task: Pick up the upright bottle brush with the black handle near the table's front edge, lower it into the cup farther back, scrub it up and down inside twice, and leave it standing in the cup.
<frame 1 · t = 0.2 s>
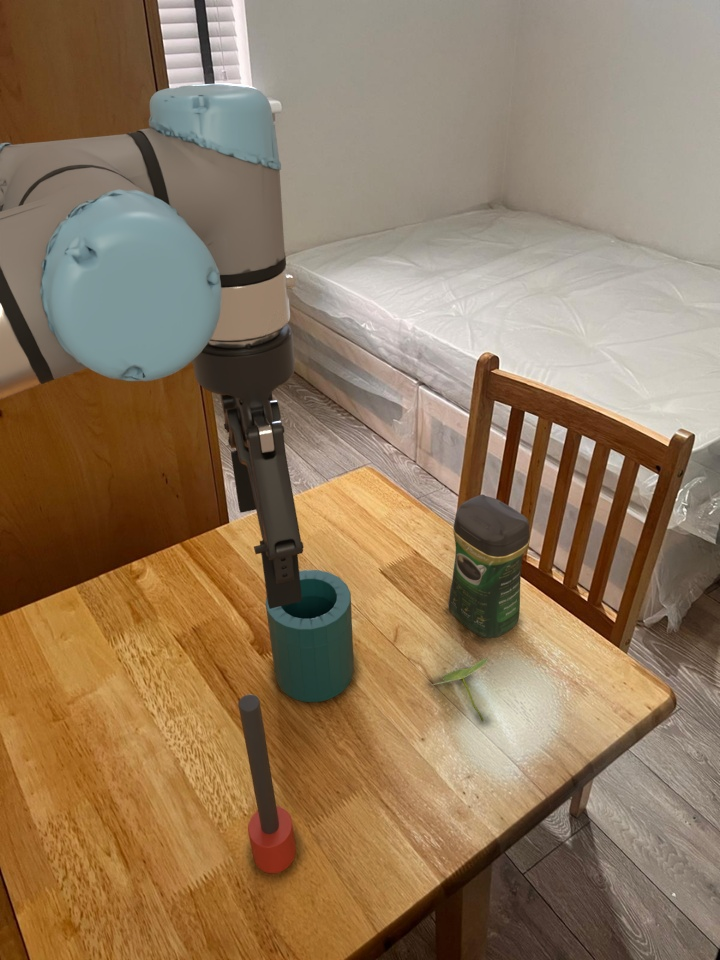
hand: (267, 551, 65), 33 cm above the table, tool pointing down, fingers open, 13 cm apart
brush: (274, 852, 76), on the table
cup: (314, 670, 95), on the table
seedling: (458, 698, 91), on the table
coffee jar: (482, 616, 103), on the table
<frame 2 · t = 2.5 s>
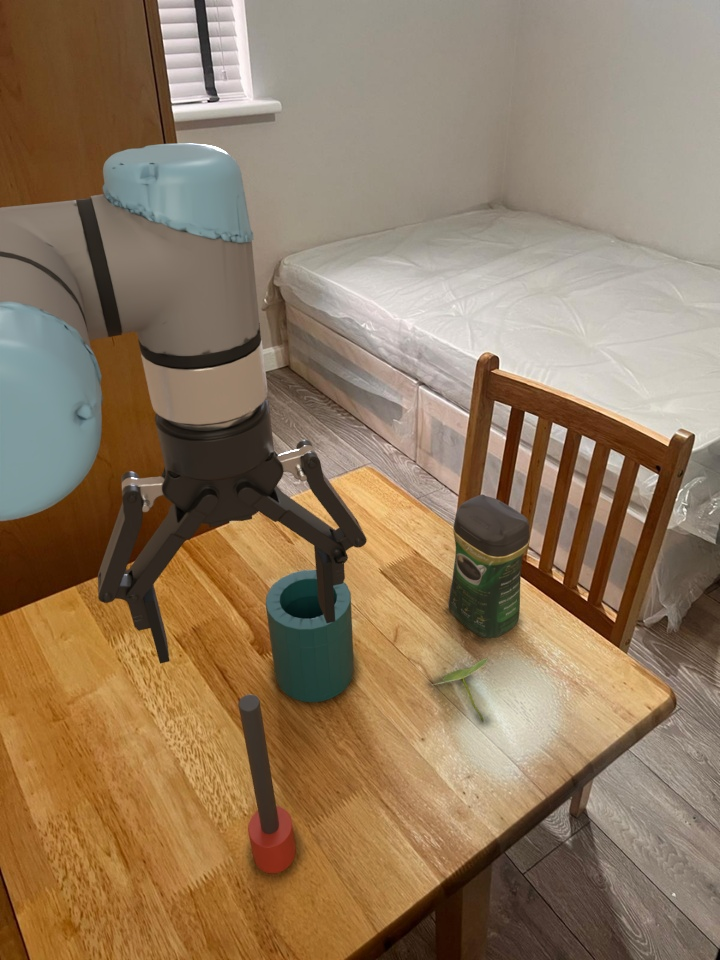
hand: (247, 630, 60), 30 cm above the table, tool pointing down, fingers open, 13 cm apart
nothing on the table moved.
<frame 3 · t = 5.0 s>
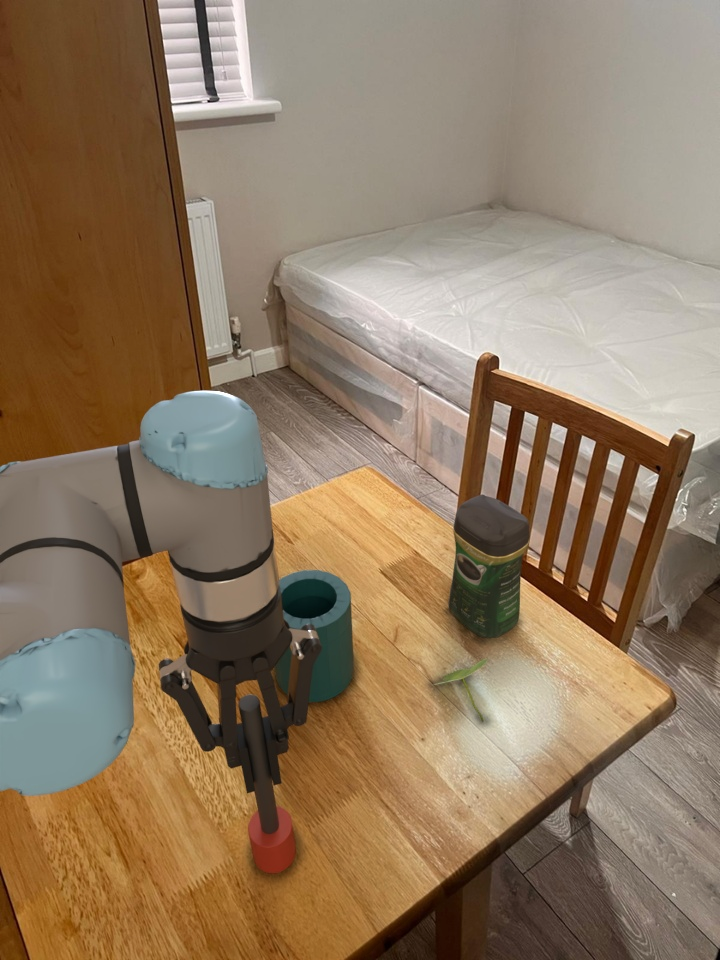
hand: (261, 775, 68), 13 cm above the table, tool pointing down, fingers closed on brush, 2 cm apart
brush: (274, 852, 76), on the table, touching gripper
everything else where it was.
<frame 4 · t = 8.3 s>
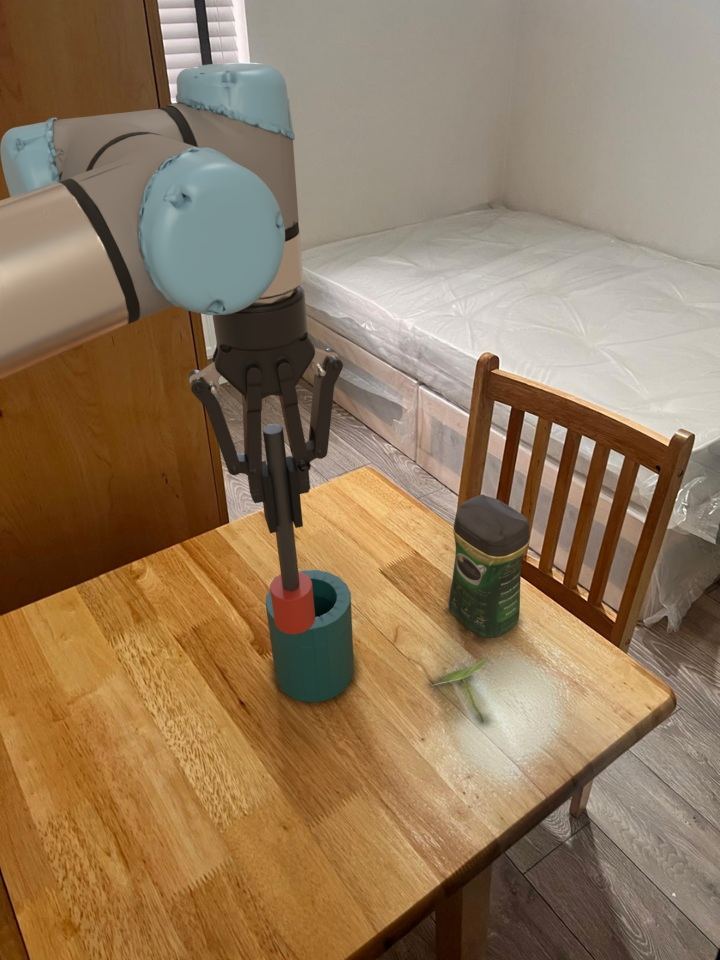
hand: (283, 521, 71), 31 cm above the table, tool pointing down, fingers closed on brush, 2 cm apart
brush: (294, 619, 79), point 17 cm above the table, touching gripper
everything else where it was.
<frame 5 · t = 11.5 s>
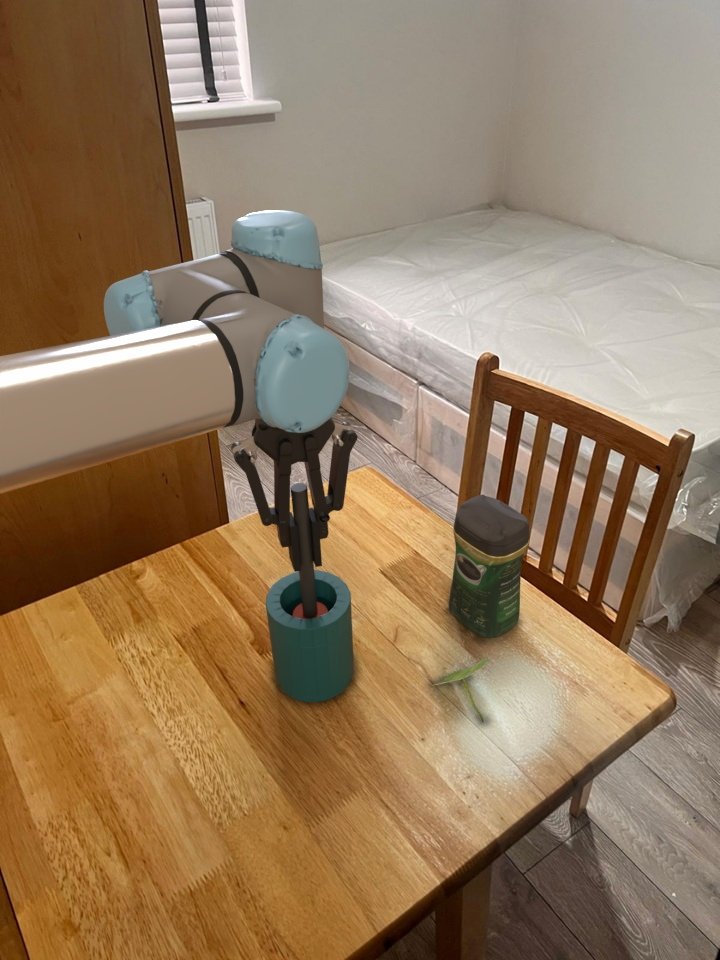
hand: (305, 561, 85), 19 cm above the table, tool pointing down, fingers closed on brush, 2 cm apart
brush: (313, 641, 92), point 5 cm above the table, touching gripper
everything else where it was.
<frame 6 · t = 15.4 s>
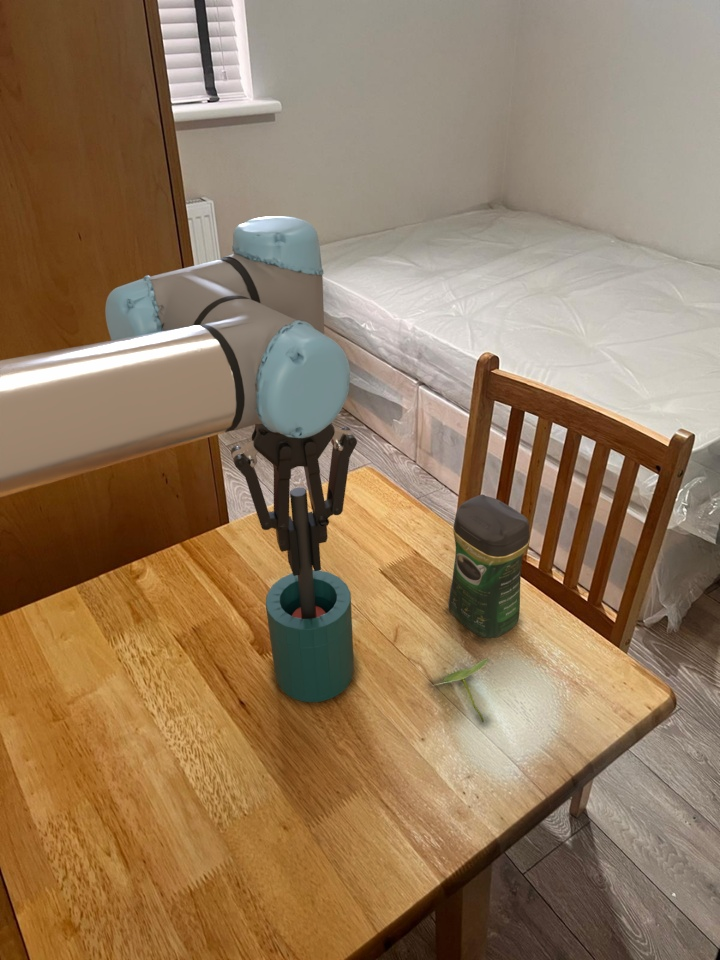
hand: (304, 565, 85), 18 cm above the table, tool pointing down, fingers closed on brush, 2 cm apart
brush: (311, 645, 93), point 5 cm above the table, touching gripper
everything else where it was.
when the fingers open (14 cm above the table, at t = 18.1 s): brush stays where it is, resting on cup.
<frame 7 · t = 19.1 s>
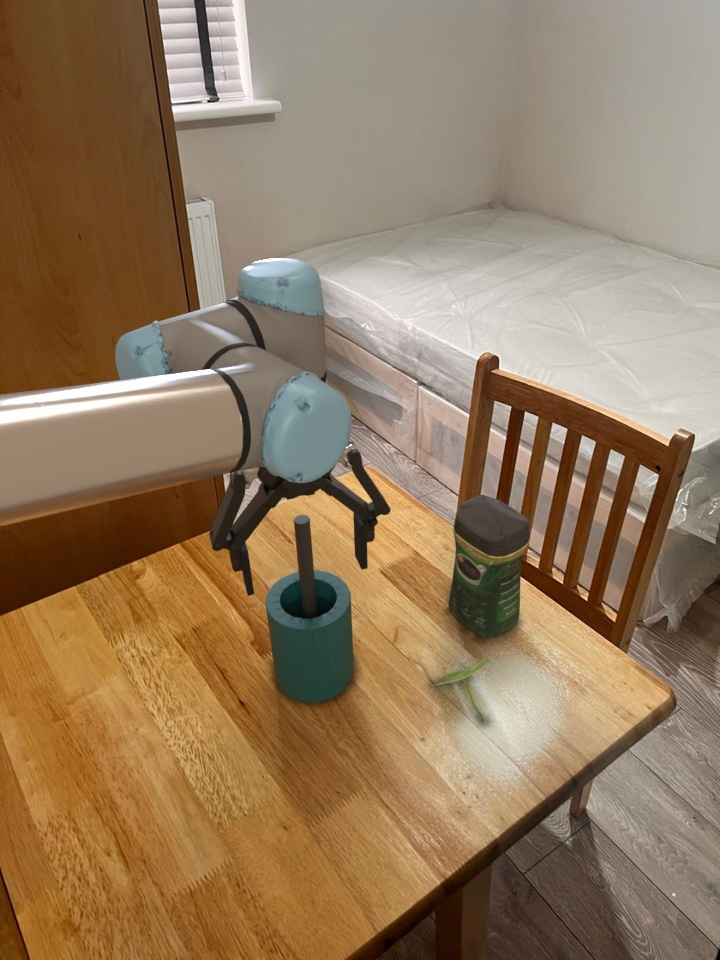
hand: (306, 574, 86), 17 cm above the table, tool pointing down, fingers open, 13 cm apart
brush: (314, 665, 95), point 1 cm above the table, touching cup
everything else where it was.
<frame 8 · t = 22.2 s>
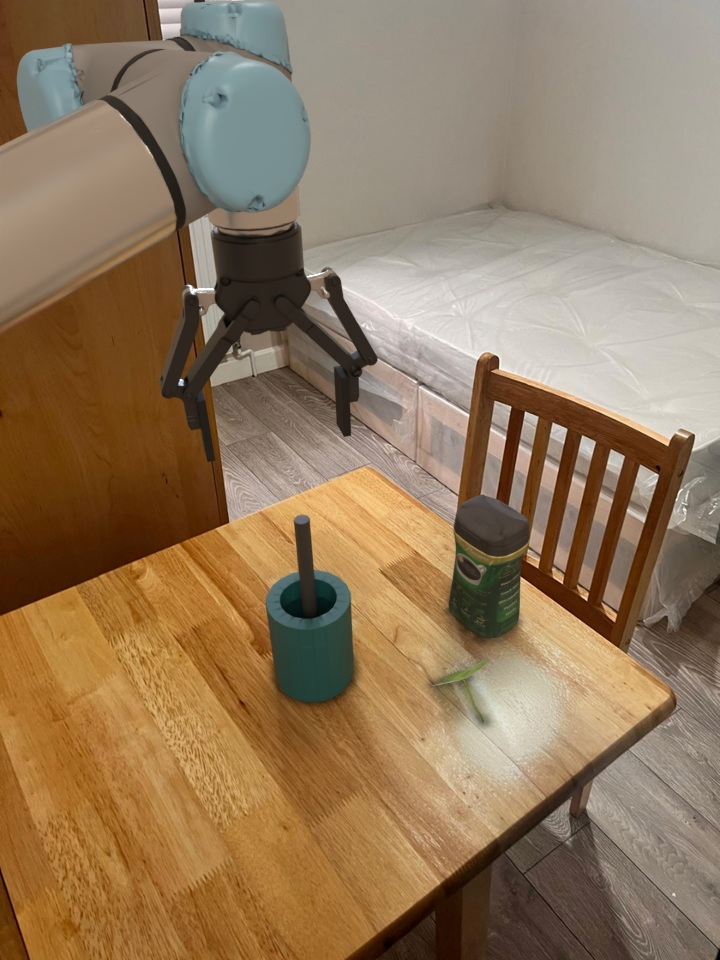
hand: (278, 442, 72), 37 cm above the table, tool pointing down, fingers open, 13 cm apart
nothing on the table moved.
at the end: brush 0.1 cm off-centre in the cup, point 1.0 cm above the cup's base; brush tilted 0°; the gripper is holding nothing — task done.
